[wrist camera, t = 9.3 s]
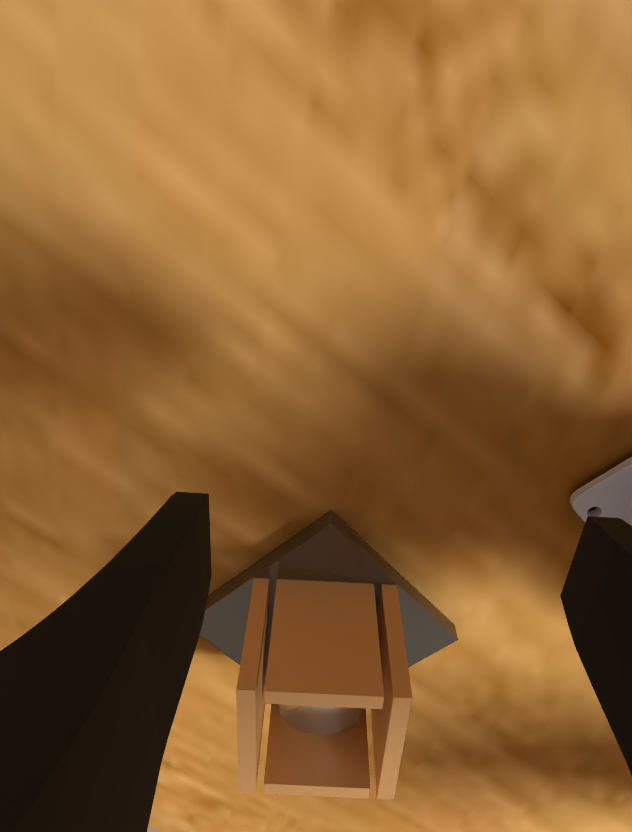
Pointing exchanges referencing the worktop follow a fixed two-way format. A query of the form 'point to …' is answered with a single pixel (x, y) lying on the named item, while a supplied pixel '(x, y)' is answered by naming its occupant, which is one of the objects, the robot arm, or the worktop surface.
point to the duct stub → (334, 562)
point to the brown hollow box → (323, 687)
